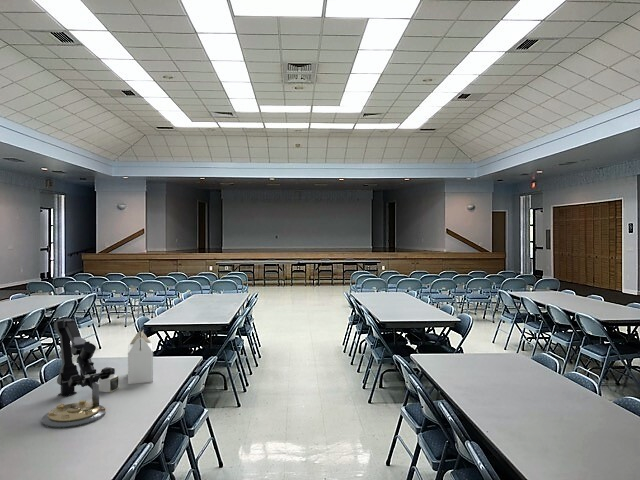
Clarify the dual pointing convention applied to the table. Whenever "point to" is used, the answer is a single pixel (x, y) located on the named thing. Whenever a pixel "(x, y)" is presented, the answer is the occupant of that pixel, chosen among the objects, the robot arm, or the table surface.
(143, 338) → the gable box
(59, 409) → the gold wheel with handle
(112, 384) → the medicine bottle
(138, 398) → the table surface
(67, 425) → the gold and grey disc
